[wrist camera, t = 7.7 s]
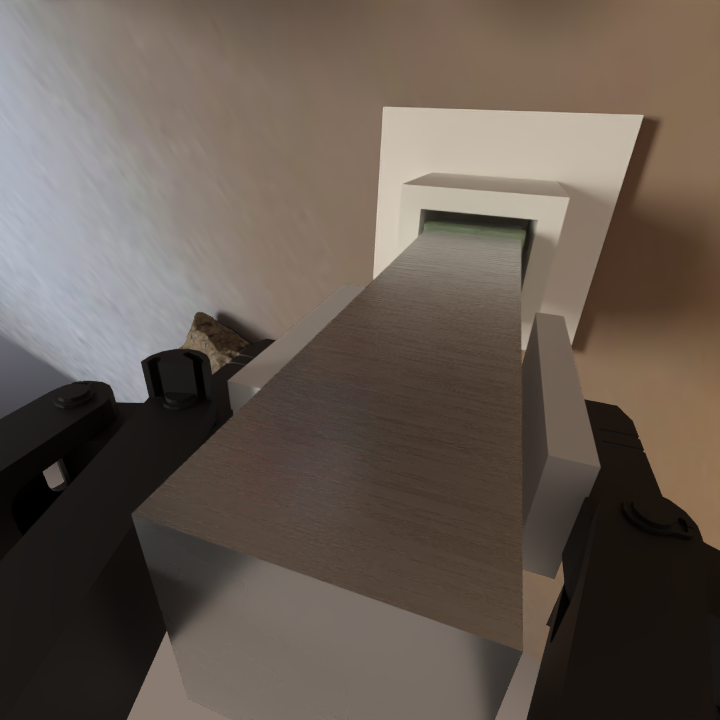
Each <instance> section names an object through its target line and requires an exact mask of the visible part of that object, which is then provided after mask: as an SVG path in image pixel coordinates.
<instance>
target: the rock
mask: <svg viewBox="0 0 720 720" xmlns="http://www.w3.org/2000/svg"><path fill="white" fill-rule="evenodd" d="M250 345H251V344H250V343H248V342H247V341H245V340H244V339H242V338H241V337H240V336H239V335H238V334H237V333H235V332H233V331H232V330H230V329H229V328H227V327H225V326H224V325H221V324H219V323H218V322H217V321H216V320H214V318H213V317H211V316H209V315H207V314H205V313H203V312H198V313H196V315H195V316H194V320H193V323H192V326H191V329H190V331H189V333H188V335H187V340H186V342H185V344H184V345H183V346H182V347H180V348H179V349H192V350H198V351H201V352H203V353H205V354H207V355H208V357H209V359H210V363H211V370H212V374H214V373H215V372H216V371H217V370H219V369H220V368H221V367H223V366H224V365H225V364H227V363H229V362H230V360H232V359H233V358H234V357H236V356H239V354H240V353H241V352H242V351H243V350H245V349H246V348H247V347H249V346H250Z"/></svg>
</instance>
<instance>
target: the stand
mask: <svg viewBox="0 0 720 720" xmlns="http://www.w3.org/2000/svg"><path fill="white" fill-rule="evenodd" d="M643 116H644V115H625V114H594V113H563V112H532V111H501V110H470V109H439V108H408V107H383V121H382V138H381V155H380V172H379V189H378V206H377V223H376V240H375V257H374V274H373V280H374V279H375V278H376V277H377V276H378V275H379V274H380V273H381V272H382V271H383V270H384V269H385V268H386V267H387V266H388V265H389V264H390V263H391V262H392V261H394V260H395V259H396V258H397V257H398V256H399V255H400V254H401V253H402V252H403V251H404V250H405V249H406V248H407V247H408V246H409V245H410V244H411V243H412V242H413V241H414V240H415V239H416V238H417V237H418V236H419V235H420V234H421V233H422V232H423V228H424V224H425V223H426V222H427V221H435V220H436V219H437V218H447V219H457V220H467V221H477V222H487V223H497V224H507V225H517V226H521V230H523V231H525V233H526V236H525V240H524V244H523V249H522V253H521V349H522V350H526V348H527V344H528V340H529V337H530V333H531V329H532V325H533V321H534V317H535V313H536V312H539V313H546V314H553V315H559V316H564V318H565V322H566V327H567V331H568V335H569V339H570V343H571V345H572V342H573V339H574V336H575V332H576V329H577V326H578V323H579V320H580V317H581V313H582V310H583V307H584V304H585V301H586V297H587V294H588V291H589V288H590V285H591V282H592V278H593V275H594V272H595V269H596V266H597V262H598V259H599V256H600V253H601V250H602V247H603V243H604V240H605V237H606V234H607V231H608V227H609V224H610V221H611V218H612V215H613V212H614V208H615V205H616V202H617V199H618V196H619V192H620V189H621V186H622V183H623V180H624V177H625V173H626V170H627V167H628V164H629V161H630V158H631V154H632V151H633V148H634V145H635V142H636V138H637V135H638V132H639V129H640V126H641V123H642V119H643Z"/></svg>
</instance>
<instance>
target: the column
mask: <svg viewBox="0 0 720 720" xmlns="http://www.w3.org/2000/svg"><path fill="white" fill-rule="evenodd" d="M525 236H526V233H525V231H523V230H521V226H517V225H507V224H497V223H487V222H477V221H467V220H457V219H447V218H437V219H436V220H435V221H427V222H426V223H425V224H424V228H423V232H422V233H421V234H420V235H419V236H418V237H417V238H416V239H415V240H414V241H413V242H412V243H411V244H410V245H409V246H408V247H407V248H406V249H405V250H404V251H403V252H402V253H401V254H400V255H399V256H398V257H397V258H396V259H395V260H394V261H392V262H391V263H390V264H389V265H388V266H387V267H386V268H385V269H384V270H383V271H382V272H381V273H380V274H379V275H378V276H377V277H376V278H375V279H374V280H373V281H372V282H371V283H370V284H369V285H368V286H367V287H366V288H365V289H364V290H362V291H361V292H360V293H359V294H358V295H357V296H356V297H355V298H354V299H353V300H352V301H351V302H350V303H349V304H348V305H347V306H346V307H345V308H344V309H343V310H342V311H341V312H340V313H339V314H338V315H337V316H336V317H335V318H334V319H332V320H331V321H330V322H329V323H328V324H327V325H326V326H325V327H324V328H323V329H322V330H321V331H320V332H319V333H318V334H317V335H316V336H315V337H314V338H313V339H312V340H311V341H310V342H309V343H308V344H307V345H306V346H305V347H304V348H302V349H301V350H300V351H299V352H298V353H297V354H296V355H295V356H294V357H293V358H292V359H291V360H290V361H289V362H288V363H287V364H286V365H285V366H284V367H283V368H282V369H281V370H280V371H279V372H278V373H277V374H276V375H275V376H273V377H272V378H271V379H270V380H269V381H268V382H267V383H266V384H265V385H264V386H263V387H262V388H261V389H260V390H259V391H258V392H257V393H256V394H255V395H254V396H253V397H252V398H251V399H250V400H249V401H248V402H247V403H246V404H245V405H243V406H242V407H241V408H240V409H239V410H238V411H237V412H236V413H235V414H234V415H233V416H232V417H231V418H230V419H229V420H228V421H227V422H226V423H225V424H224V425H223V426H222V427H221V428H220V429H219V430H218V431H217V432H216V433H215V434H213V435H212V436H211V437H210V438H209V439H208V440H207V441H206V442H205V443H204V444H203V445H202V446H201V447H200V448H199V449H198V450H197V451H196V452H195V453H194V454H193V455H192V456H191V457H190V458H189V459H188V460H187V461H186V462H185V463H183V464H182V465H181V466H180V467H179V468H178V469H177V470H176V471H175V472H174V473H173V474H172V475H171V476H170V477H169V478H168V479H167V480H166V481H165V482H164V483H163V484H162V485H161V486H160V487H159V488H158V489H157V490H156V491H155V492H153V493H152V494H151V495H150V496H149V497H148V498H147V499H146V500H145V501H144V502H143V503H142V504H141V505H140V506H139V507H138V508H137V509H136V510H135V511H134V512H133V513H132V514H131V515H132V518H133V522H134V525H135V528H136V531H137V535H138V538H139V541H140V544H141V548H142V551H143V554H144V557H145V561H146V564H147V567H148V570H149V574H150V577H151V580H152V583H153V587H154V590H155V593H156V596H157V600H158V603H159V606H160V609H161V612H162V616H163V619H164V622H165V625H166V629H167V632H168V635H169V638H170V642H171V645H172V647H173V651H174V655H175V658H176V661H177V664H178V667H179V671H180V674H181V677H182V680H183V684H184V687H185V690H186V694H187V697H188V699H190V700H192V701H194V702H196V703H198V704H200V705H202V706H204V707H207V708H209V709H211V710H213V711H215V712H217V713H219V714H221V715H223V716H225V717H228V718H230V719H232V720H495V718H496V715H497V713H498V710H499V708H500V706H501V703H502V701H503V698H504V696H505V693H506V691H507V689H508V686H509V684H510V681H511V679H512V677H513V674H514V672H515V669H516V667H517V665H518V662H519V660H520V657H521V655H522V652H523V578H522V349H521V253H522V249H523V244H524V240H525Z"/></svg>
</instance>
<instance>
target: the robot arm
mask: <svg viewBox="0 0 720 720" xmlns="http://www.w3.org/2000/svg"><path fill="white" fill-rule="evenodd" d="M365 288H366V287H365V286H359V285H352V284H343V285H342V286H341V287H340V288H339V289H337V290H336V291H335V292H334V293H333V294H331V295H330V296H329V297H328V298H327V299H325V300H324V301H323V302H322V303H321V304H319V305H318V306H317V307H316V308H315V309H313V310H312V311H311V312H310V313H309V314H307V315H306V316H305V317H304V318H303V319H301V320H300V321H299V322H298V323H296V324H295V325H294V326H293V327H292V328H290V329H289V330H288V331H287V332H286V333H284V334H283V335H282V336H281V337H280V338H278V339H277V340H271V339H265V340H263V341H260V342H257V343H255V344H252V345H250V346H249V347H247V348H246V349H245V350H243V351H242V352H241V353H240V354H239V356H236V357H234V358H233V359H232V360H230V362H229V363H227V364H225V365H224V366H223V367H221V368H220V369H219V370H217V371H216V372H215V373H214V374H212V370H211V363H210V359H209V357H208V355H207V354H205V353H203V352H201V351H198V350H192V349H173V350H168V351H162V352H160V353H157V354H154V355H151V356H149V357H148V358H146V359H145V360H143V361H142V362H141V364H142V368H143V373H144V377H145V381H146V385H147V390H148V394H149V398H148V399H147V400H146V401H145V403H118V402H116V401H115V397H114V394H113V391H112V389H111V387H110V385H108V384H106V383H103V382H97V381H83V382H82V381H79V382H74V383H72V384H69V385H65V386H62V387H60V388H57V389H55V390H53V391H51V392H49V393H47V394H45V395H43V396H41V397H39V398H38V399H36V400H34V401H32V402H31V403H29V404H27V405H25V406H23V407H21V408H20V409H18V410H16V411H14V412H13V413H11V414H9V415H7V416H5V417H3V418H2V419H0V720H127V718H128V716H129V713H130V711H131V709H132V707H133V704H134V702H135V700H136V698H137V696H138V693H139V691H140V689H141V686H142V684H143V682H144V680H145V678H146V675H147V673H148V671H149V669H150V666H151V664H152V662H153V660H154V658H155V655H156V653H157V651H158V649H159V647H160V644H161V642H162V640H163V638H164V635H165V633H166V631H167V629H166V625H165V622H164V619H163V616H162V612H161V609H160V606H159V603H158V600H157V596H156V593H155V590H154V587H153V583H152V580H151V577H150V574H149V570H148V567H147V564H146V561H145V557H144V554H143V551H142V548H141V544H140V541H139V538H138V535H137V531H136V528H135V525H134V522H133V518H132V515H131V514H132V513H133V512H134V511H135V510H136V509H137V508H138V507H139V506H140V505H141V504H142V503H143V502H144V501H145V500H146V499H147V498H148V497H149V496H150V495H151V494H152V493H153V492H155V491H156V490H157V489H158V488H159V487H160V486H161V485H162V484H163V483H164V482H165V481H166V480H167V479H168V478H169V477H170V476H171V475H172V474H173V473H174V472H175V471H176V470H177V469H178V468H179V467H180V466H181V465H182V464H183V463H185V462H186V461H187V460H188V459H189V458H190V457H191V456H192V455H193V454H194V453H195V452H196V451H197V450H198V449H199V448H200V447H201V446H202V445H203V444H204V443H205V442H206V441H207V440H208V439H209V438H210V437H211V436H212V435H213V434H215V433H216V432H217V431H218V430H219V429H220V428H221V427H222V426H223V425H224V424H225V423H226V422H227V421H228V420H229V419H230V418H231V417H232V416H233V415H234V414H235V413H236V412H237V411H238V410H239V409H240V408H241V407H242V406H243V405H245V404H246V403H247V402H248V401H249V400H250V399H251V398H252V397H253V396H254V395H255V394H256V393H257V392H258V391H259V390H260V389H261V388H262V387H263V386H264V385H265V384H266V383H267V382H268V381H269V380H270V379H271V378H272V377H273V376H275V375H276V374H277V373H278V372H279V371H280V370H281V369H282V368H283V367H284V366H285V365H286V364H287V363H288V362H289V361H290V360H291V359H292V358H293V357H294V356H295V355H296V354H297V353H298V352H299V351H300V350H301V349H302V348H304V347H305V346H306V345H307V344H308V343H309V342H310V341H311V340H312V339H313V338H314V337H315V336H316V335H317V334H318V333H319V332H320V331H321V330H322V329H323V328H324V327H325V326H326V325H327V324H328V323H329V322H330V321H331V320H332V319H334V318H335V317H336V316H337V315H338V314H339V313H340V312H341V311H342V310H343V309H344V308H345V307H346V306H347V305H348V304H349V303H350V302H351V301H352V300H353V299H354V298H355V297H356V296H357V295H358V294H359V293H360V292H361V291H362V290H364V289H365ZM638 437H639V436H638V433H637V431H636V428H635V426H634V423H633V421H632V420H631V419H630V418H629V417H628V416H627V415H626V414H625V413H624V412H623V411H622V410H621V409H620V408H619V407H618V406H615V405H610V404H605V403H600V402H595V401H590V400H585V399H584V397H583V392H582V388H581V384H580V380H579V376H578V372H577V368H576V364H575V360H574V355H573V351H572V347H571V343H570V339H569V335H568V331H567V327H566V322H565V318H564V316H559V315H553V314H546V313H539V312H536V313H535V317H534V321H533V325H532V329H531V333H530V337H529V340H528V344H527V348H526V352H525V356H524V360H523V364H522V569H523V570H527V571H530V572H533V573H537V574H540V575H543V576H546V577H550V578H553V579H555V576H556V574H557V571H558V569H559V566H560V564H561V562H563V572H564V582H565V583H564V585H563V588H562V590H561V592H560V594H559V597H558V599H557V601H556V604H555V606H554V608H553V610H552V613H551V615H550V617H549V620H548V622H547V624H546V625H548V626H549V627H550V630H549V634H548V638H547V642H546V645H545V649H544V653H543V657H542V661H541V665H540V669H539V673H538V677H537V681H536V685H535V688H534V692H533V696H532V700H531V704H530V708H529V712H528V716H527V720H720V551H719V550H717V549H715V548H714V547H712V546H710V545H708V544H706V543H705V542H703V539H702V536H701V533H700V531H699V528H698V526H697V525H696V523H695V522H694V521H693V520H692V519H691V518H690V516H689V515H688V514H687V513H686V512H685V511H684V510H682V509H681V508H680V507H678V506H677V505H676V504H674V503H673V502H672V501H670V500H668V499H666V498H664V497H662V494H661V492H660V489H659V487H658V484H657V481H656V479H655V476H654V474H653V471H652V469H651V466H650V464H649V461H648V459H647V456H646V454H645V453H644V452H643V450H644V449H643V446H642V444H641V441H640V439H638ZM55 462H57V464H58V466H59V469H60V472H61V474H62V477H63V479H64V482H63V483H62V484H61V485H58V486H57V487H55V488H53V489H51V488H50V487H49V486H48V484H47V482H46V479H45V477H44V475H43V471H44V470H45V469H47V468H48V467H50V466H51V465H52V464H54V463H55Z"/></svg>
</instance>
